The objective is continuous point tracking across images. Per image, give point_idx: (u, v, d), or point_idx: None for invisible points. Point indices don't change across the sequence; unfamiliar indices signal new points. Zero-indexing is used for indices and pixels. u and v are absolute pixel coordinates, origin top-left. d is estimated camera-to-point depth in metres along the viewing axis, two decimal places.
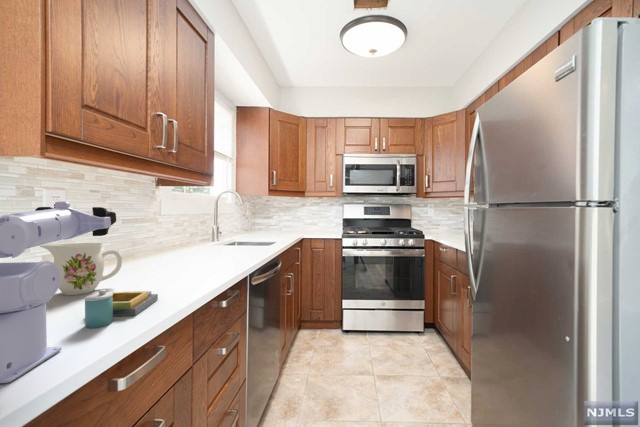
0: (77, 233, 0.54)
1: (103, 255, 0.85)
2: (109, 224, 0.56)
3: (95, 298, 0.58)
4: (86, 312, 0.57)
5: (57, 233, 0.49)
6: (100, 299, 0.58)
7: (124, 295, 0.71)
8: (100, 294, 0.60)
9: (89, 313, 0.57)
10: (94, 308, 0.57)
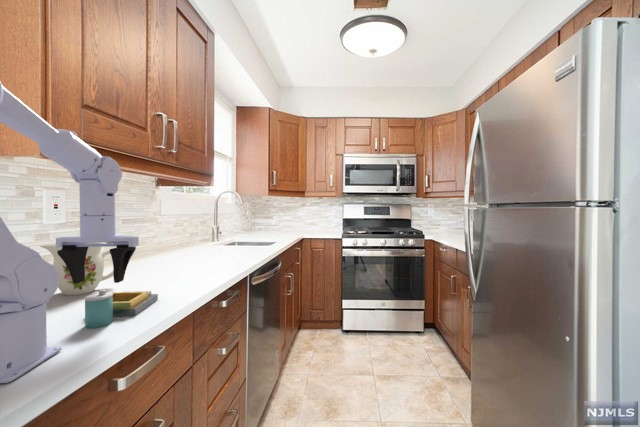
0: (105, 238, 0.57)
1: (103, 255, 0.85)
2: (135, 244, 0.60)
3: (95, 298, 0.58)
4: (86, 312, 0.57)
5: (106, 212, 0.58)
6: (100, 299, 0.58)
7: (124, 295, 0.71)
8: (100, 294, 0.60)
9: (89, 313, 0.57)
10: (94, 308, 0.57)
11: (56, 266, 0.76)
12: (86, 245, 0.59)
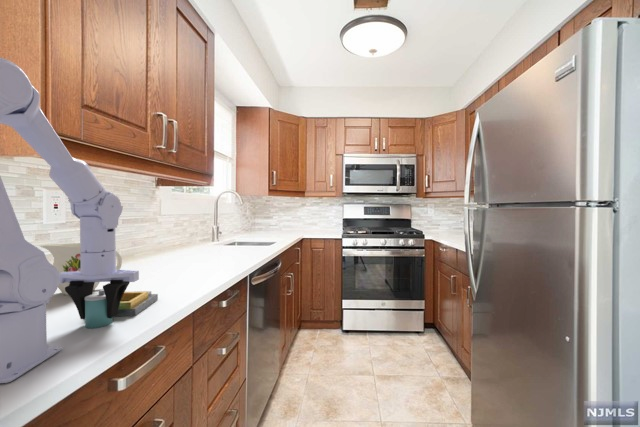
0: (105, 274, 0.58)
1: None
2: (135, 279, 0.60)
3: (95, 298, 0.58)
4: (86, 312, 0.57)
5: (106, 248, 0.58)
6: (100, 299, 0.58)
7: (124, 295, 0.71)
8: (100, 294, 0.60)
9: (89, 313, 0.57)
10: (94, 308, 0.57)
11: (56, 266, 0.76)
12: (86, 280, 0.59)
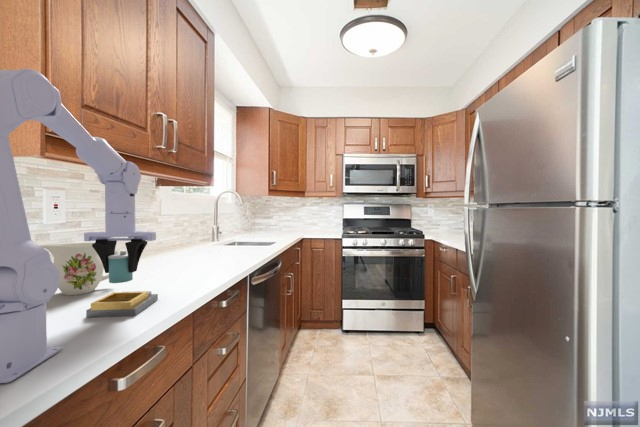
0: (127, 233, 0.65)
1: None
2: (153, 238, 0.68)
3: (118, 256, 0.65)
4: (110, 269, 0.65)
5: (129, 210, 0.66)
6: (122, 257, 0.65)
7: (124, 295, 0.71)
8: (121, 254, 0.67)
9: (112, 269, 0.65)
10: (117, 265, 0.65)
11: (56, 266, 0.76)
12: (110, 239, 0.67)
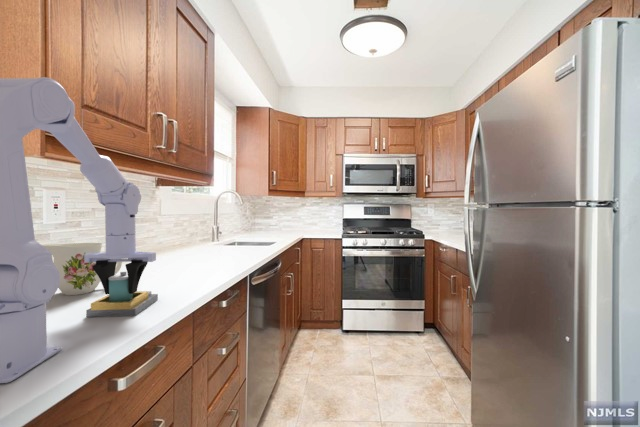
0: (127, 254, 0.66)
1: None
2: (153, 259, 0.68)
3: (118, 278, 0.66)
4: (110, 290, 0.65)
5: (129, 232, 0.66)
6: (122, 279, 0.65)
7: None
8: (121, 275, 0.68)
9: (113, 291, 0.65)
10: (117, 287, 0.65)
11: (56, 266, 0.76)
12: (110, 260, 0.67)
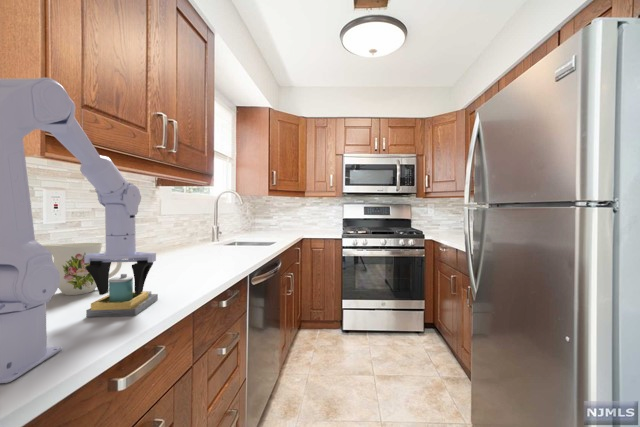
0: (127, 255, 0.66)
1: None
2: (153, 259, 0.68)
3: (118, 280, 0.66)
4: (110, 292, 0.65)
5: (129, 232, 0.66)
6: (122, 281, 0.66)
7: None
8: (122, 277, 0.68)
9: (113, 293, 0.65)
10: (117, 289, 0.65)
11: (56, 266, 0.76)
12: (110, 261, 0.67)
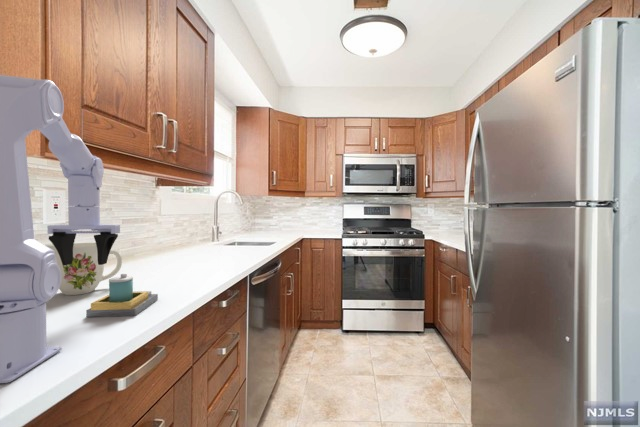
0: (90, 225, 0.66)
1: None
2: (116, 231, 0.68)
3: (118, 280, 0.66)
4: (110, 292, 0.65)
5: (96, 204, 0.68)
6: (123, 281, 0.66)
7: None
8: (122, 277, 0.68)
9: (113, 293, 0.65)
10: (117, 289, 0.65)
11: None
12: (74, 232, 0.68)
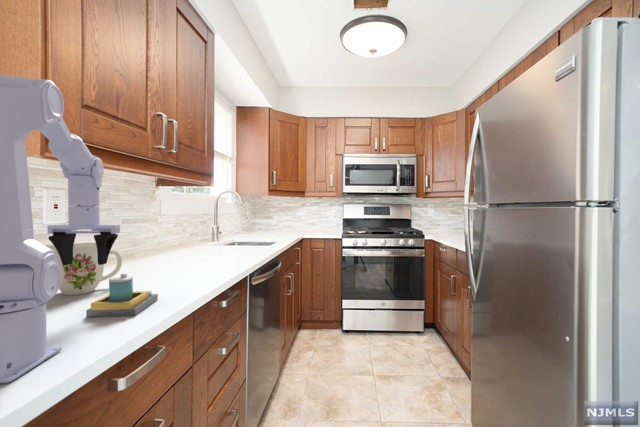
0: (90, 225, 0.66)
1: None
2: (116, 231, 0.68)
3: (118, 280, 0.66)
4: (110, 292, 0.65)
5: (96, 204, 0.68)
6: (123, 281, 0.66)
7: None
8: (122, 277, 0.68)
9: (113, 293, 0.65)
10: (117, 289, 0.65)
11: None
12: (74, 232, 0.68)
